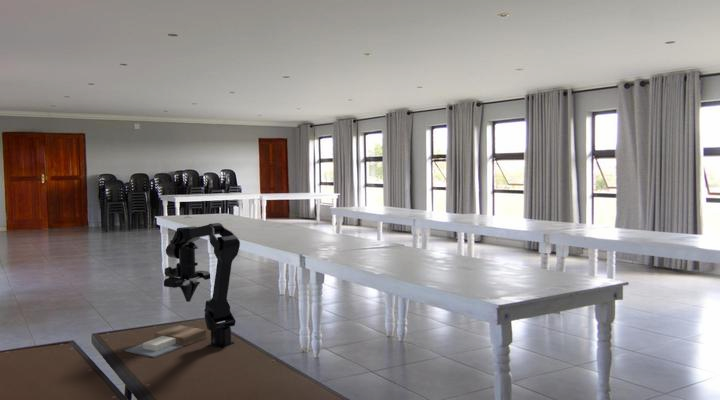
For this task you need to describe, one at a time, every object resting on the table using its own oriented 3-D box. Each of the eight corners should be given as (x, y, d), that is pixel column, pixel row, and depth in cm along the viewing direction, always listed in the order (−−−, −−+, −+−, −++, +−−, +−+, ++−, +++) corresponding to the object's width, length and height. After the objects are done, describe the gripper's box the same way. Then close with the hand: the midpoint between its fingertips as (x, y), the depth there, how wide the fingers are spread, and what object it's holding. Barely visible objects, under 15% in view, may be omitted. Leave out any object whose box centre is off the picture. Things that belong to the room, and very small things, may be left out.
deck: (206, 337, 210) (205, 329, 210) (183, 346, 200) (183, 338, 200) (178, 332, 216) (177, 325, 216) (155, 340, 207) (155, 332, 207)
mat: (183, 346, 200) (183, 345, 200) (154, 357, 189) (154, 356, 189) (154, 341, 207) (154, 339, 207) (125, 351, 195) (125, 350, 195)
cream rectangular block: (175, 343, 202) (175, 338, 202) (155, 351, 194) (155, 345, 194) (163, 341, 205) (163, 335, 205) (143, 348, 197) (143, 342, 197)
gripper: (189, 255, 226) (190, 294, 227) (152, 262, 210) (153, 304, 211) (210, 257, 221) (211, 297, 222) (174, 265, 205) (175, 308, 206)
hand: (188, 301), depth 215 cm, fingers closed
